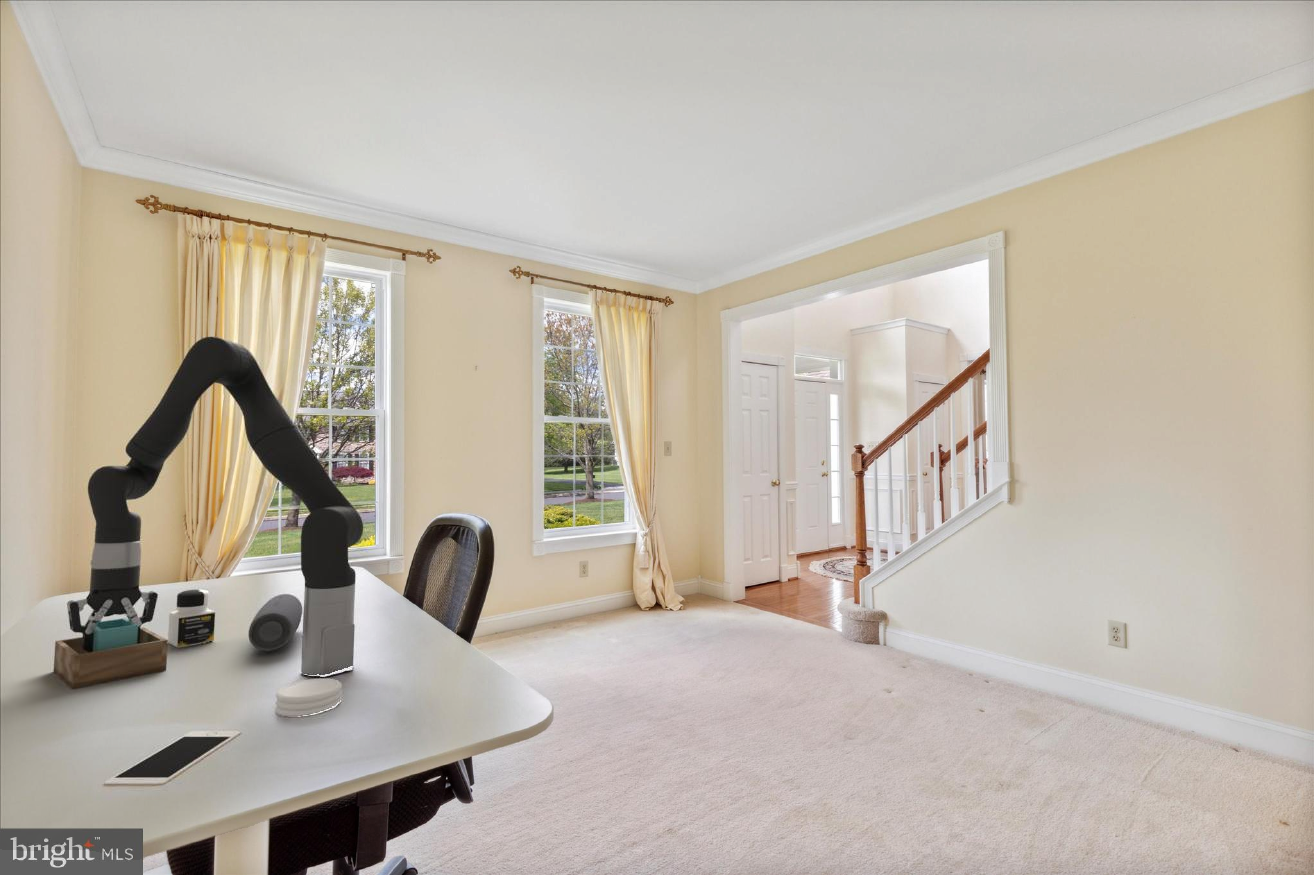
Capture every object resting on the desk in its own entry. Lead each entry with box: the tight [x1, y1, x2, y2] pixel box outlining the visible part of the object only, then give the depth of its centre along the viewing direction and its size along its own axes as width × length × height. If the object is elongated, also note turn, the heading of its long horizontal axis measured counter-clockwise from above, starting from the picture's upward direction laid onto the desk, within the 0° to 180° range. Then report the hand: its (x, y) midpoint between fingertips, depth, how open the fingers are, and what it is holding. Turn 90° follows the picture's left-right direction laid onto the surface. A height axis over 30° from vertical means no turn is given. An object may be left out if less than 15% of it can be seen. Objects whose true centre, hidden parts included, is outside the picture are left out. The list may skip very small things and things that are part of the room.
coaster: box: [275, 677, 343, 718], centre depth 107 cm, size 10×10×4 cm
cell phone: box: [103, 730, 242, 786], centre depth 88 cm, size 8×16×1 cm, turn 2°
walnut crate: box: [53, 626, 169, 690], centre depth 124 cm, size 16×14×6 cm
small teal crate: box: [85, 617, 138, 653], centre depth 125 cm, size 9×6×6 cm, turn 53°
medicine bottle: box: [167, 588, 216, 649], centre depth 145 cm, size 7×7×12 cm
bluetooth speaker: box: [248, 593, 303, 652], centre depth 145 cm, size 23×9×10 cm, turn 25°
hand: (111, 648), depth 124 cm, fingers closed on small teal crate, 6 cm apart
